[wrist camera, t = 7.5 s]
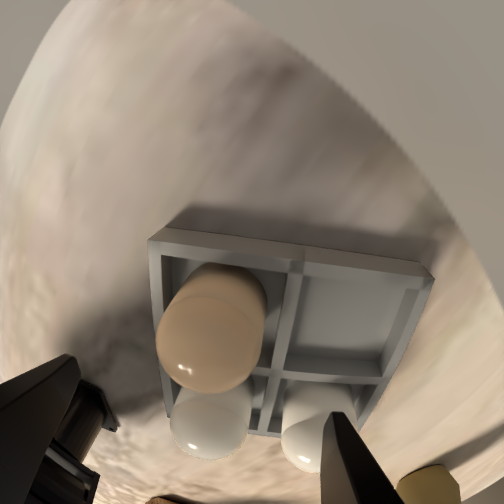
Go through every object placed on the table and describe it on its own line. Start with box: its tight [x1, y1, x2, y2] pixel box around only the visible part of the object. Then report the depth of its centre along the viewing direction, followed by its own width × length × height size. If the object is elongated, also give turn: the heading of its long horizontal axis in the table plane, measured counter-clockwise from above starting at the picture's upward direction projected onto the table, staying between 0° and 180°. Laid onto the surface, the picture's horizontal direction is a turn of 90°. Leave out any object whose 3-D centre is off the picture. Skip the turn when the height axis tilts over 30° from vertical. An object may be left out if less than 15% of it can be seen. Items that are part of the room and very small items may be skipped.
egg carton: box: [148, 227, 435, 438], centre depth 15 cm, size 13×13×2 cm
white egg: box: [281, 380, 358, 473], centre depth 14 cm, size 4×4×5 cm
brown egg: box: [156, 262, 267, 394], centre depth 12 cm, size 4×4×5 cm
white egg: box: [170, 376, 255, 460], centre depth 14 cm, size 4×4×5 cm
